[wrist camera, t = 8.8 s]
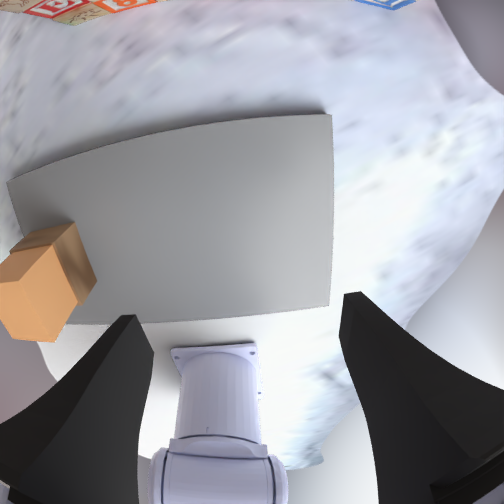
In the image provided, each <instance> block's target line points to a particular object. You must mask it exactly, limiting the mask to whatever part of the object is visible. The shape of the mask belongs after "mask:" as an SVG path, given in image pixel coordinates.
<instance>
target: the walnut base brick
mask: <svg viewBox="0 0 504 504" xmlns="http://www.w3.org/2000/svg"><path fill="white" fill-rule="evenodd" d="M49 245H53V248H54V250H55V253H56V255H57V257H58V260H59V262H60V265H61V267H62V269H63V271H64V274H65V276H66V278H67V280H68V282H69V284H70V287H71V289H72V291H73V293H74V295H75V297H76V299H77V301H78V303H77V304H76V306H82V305H83V304H84V302H85V300H86V299H87V297H88V295H89V294H90V292H91V290H92V289H93V287H94V286H95V284H96V282H97V279H96V276H95V274H94V272H93V269H92V267H91V264H90V262H89V259H88V257H87V254H86V251H85V249H84V246H83V243H82V241H81V238H80V235H79V232H78V229H77V226H76V223H75V222H73V223H68V224H63V225H59V226H54V227H50V228H46V229H41V230H37V231H33V232H30V233H29V234H28V235H26V236H25V237H24V238H23V239H22V240H21V241H20V242H19V243H17V244H16V245H15V246H14V247H13V248H12V249H11V250H10V251H9V252H10V254H11V253H13V252H18V251H23V250H28V249H33V248H38V247H44V246H49Z"/></svg>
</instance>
